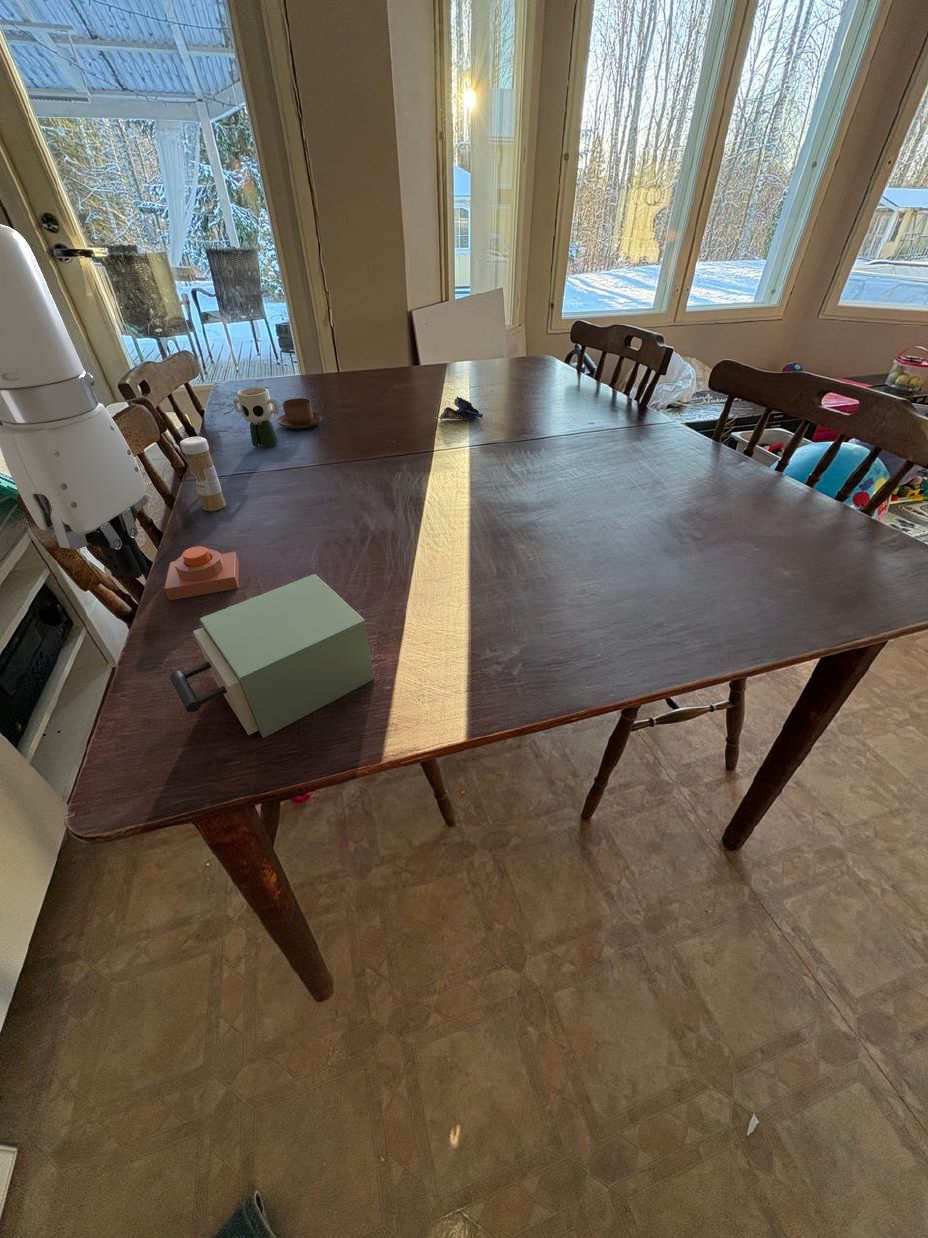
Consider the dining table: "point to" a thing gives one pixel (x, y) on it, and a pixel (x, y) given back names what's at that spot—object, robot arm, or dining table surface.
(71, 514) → the robot arm
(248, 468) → the dining table surface
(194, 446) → the sprinkles bottle
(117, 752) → the dining table surface
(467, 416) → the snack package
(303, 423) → the cup and saucer
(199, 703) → the fryer drawer
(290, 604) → the fryer
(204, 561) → the button
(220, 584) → the control block
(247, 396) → the character mug
